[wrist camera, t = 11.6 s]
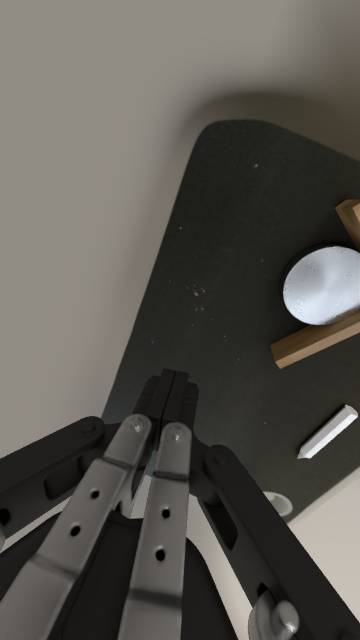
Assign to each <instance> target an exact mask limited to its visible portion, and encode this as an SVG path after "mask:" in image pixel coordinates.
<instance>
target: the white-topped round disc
mask: <svg viewBox="0 0 360 640" xmlns="http://www.w3.org/2000/svg"><path fill="white" fill-rule="evenodd" d="M279 290H280V295H281V298H282V300H283V302H284V304H285V305H286V307H287V309H288V310H289V311H290V313H291V314H292V315H293V316H294V317H296V318H297V319H299V320H301V321H303V322H305V323H308V324H313V325H328V324H333V323H337V322H340V321H342V320H344V319H346V318H348V317H350V316H351V315H353V314H354V313H356V312H357V311H358V310H359V309H360V253H358V252H357V251H355V250H352V249H349V248H347V247H344V246H341V245H337V244H319V245H315V246H311V247H309V248H307V249H305V250H303V251H301V252H300V253H298V254H297V255H296V256H294V257H293V258H292V259H291V260H290V261H289V263H288V264H287V265H286V267H285V268H284V270H283V272H282V275H281V278H280V283H279Z"/></svg>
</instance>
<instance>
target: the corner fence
mask: <svg viewBox="0 0 360 640" xmlns="http://www.w3.org/2000/svg"><path fill="white" fill-rule="evenodd" d="M335 209H336V211H337V213H338V215H339V217H340V219H341V220H342V222H343V224H344V226H345V228H346V230H347V231H348V233H349V235H350V237H351V239H352V241H353V242H354V244H355V246H356V248H357V250H358V252H359V253H360V199H353V200H345V201H344V202H343V203H341V204H340V205H338V206H337V207H335ZM359 332H360V309H359V310H358V311H357V312H356V313H354V314H353V315H351V316H350V317H348V318H346V319H344V320H342V321H340V322H337V323H333V324H328V325H313V324H311V325H309V326H307V327H305V328H303V329H301V330H299V331H297V332H295V333H293V334H291V335H289V336H287V337H285V338H284V339H282V340H280V341H278V342H276V343H274V344H272V345H270V347H271V350H272V353H273V357H274V360H275V363H276V364H277V365H278V367H279V368H280V369H281V368H283V367H285V366H287V365H290V364H292V363H294V362H296V361H298V360H300V359H303V358H305V357H307V356H309V355H311V354H313V353H316V352H318V351H320V350H322V349H324V348H326V347H329V346H331V345H333V344H335V343H337V342H339V341H342V340H344V339H346V338H348V337H350V336H352V335H355V334H357V333H359Z"/></svg>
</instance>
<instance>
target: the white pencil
mask: <svg viewBox="0 0 360 640" xmlns="http://www.w3.org/2000/svg"><path fill="white" fill-rule="evenodd" d="M357 417H358V413H357V412H356V411H355V410H354V409H353V408H352V407H350V406H348V405H345V406H344V407H343V408H342V409H341V410H340V411H339V412H338V413H337V414H336V415H334V416H333V417H332V418H331V419H330V420H329V421H328V422H327V423H326V424H325V425H324V426H323V427H322V428H321V429H319V430H318V431H317V432H316V433H315V434H314V435H313V436H312V437H311V438H310V439H309V440H308V441H307V442H306V443H305V444H303V445H302V446H301V449H300V453H299V455H298V457H297V459H300V458H311V457H312V456H313V455H314V454H316V453H317V452H318V451H319V450H320V449H321V448H322V447H324V446H325V445H326V444H327V443H328V442H329V441H331V440H332V439H333V438H334V437H335V436H336V435H337V434H339V433H340V432H341V431H342V430H343V429H344V428H345V427H347V426H348V425H349V424H350V423H351V422H352V421H353V420H355V419H356V418H357Z"/></svg>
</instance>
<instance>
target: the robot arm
mask: <svg viewBox="0 0 360 640" xmlns="http://www.w3.org/2000/svg"><path fill="white" fill-rule="evenodd" d="M188 378H189V373H185V372H180V371H177V372H176V371H174V370H169V369H164V370H163V372H162V375H161V377H159V376H152V377H151V378H150V379H149V380H148V381H147V383H146V385H145V387H144V389H143V391H142V394H141V396H140V398H139V400H138V402H137V404H136V407H135V409H134V411H133V413H132V415H130V416H128V417H127V418H125V420H124V421H123V422H121V423H117V424H105V425H104V422H103V420H102V419H100V418H98V417H95V416H89V417H85V418H83V419H80V420H78V421H76V422H74V423H72V424H70V425H68V426H66V427H64V428H62V429H60V430H58V431H56V432H54V433H52V434H50V435H48V436H46V437H44V438H42V439H40V440H38V441H35V442H33V443H31V444H29V445H27V446H25V447H23V448H21V449H19V450H17V451H15V452H13V453H11V454H9V455H7V456H5V457H3V458H1V459H0V551H1V549H2V547H3V545H4V542H5V540H6V539H7V538H9V537H10V536H12V535H13V534H15V533H16V532H18V531H19V530H21V529H22V528H24V527H25V526H27V525H28V524H30V523H31V522H33V521H34V520H36V519H37V518H39V517H40V516H42V515H43V514H45V513H46V512H48V511H49V510H51V509H52V508H53V507H55V506H57V505H58V504H59V503H61V502H62V501H64V500H66V499H67V498H69V497H70V496H72V497H71V498H70V500H69V501H68V503H67V505H66V506H65V508H64V509H63V511H61V512H59V513H57V514H55V515H53V516H52V517H50V518H49V519H47V520H46V521H45V522H43V523H42V524H40V525H39V526H38V527H36V528H35V529H33V530H32V531H31V532H29V533H28V534H27V535H25V536H24V537H22V538H21V539H20V540H18V541H17V542H15V543H14V544H13V545H11V546H10V547H9V548H7V549H6V550H4V551H3V552H2V553H0V640H238V638H237V635H236V633H235V631H234V628H233V626H232V623H231V621H230V619H229V617H228V614H227V611H226V609H225V607H224V604H223V602H222V600H221V597H220V595H219V592H218V590H217V588H216V585H215V583H214V580H213V578H212V576H211V573H210V571H209V569H208V566H207V564H206V562H205V560H204V558H203V556H202V555H201V553H200V552H199V550H198V549H197V548H196V546H195V545H194V544H193V543H192V542H191V541H190V540H189V539H188V538H187V537H186V529H187V515H188V499H189V492H190V493H192V494H193V495H195V496H196V497H197V500H198V502H199V504H200V506H201V508H202V511H203V513H204V514H205V516H206V518H207V520H208V522H209V524H210V526H211V528H212V530H213V532H214V534H215V536H216V538H217V540H218V542H219V544H220V545H221V547H222V549H223V551H224V553H225V555H226V557H227V559H228V561H229V563H230V565H231V567H232V569H233V571H234V573H235V575H236V577H237V578H238V580H239V582H240V584H241V586H242V588H243V590H244V592H245V594H246V596H247V598H248V600H249V602H250V604H251V606H252V608H253V609H252V611H251V612H250V615H249V620H248V634H249V640H360V623H359V621H358V620H357V619H356V618H355V616H354V615H353V613H352V612H351V611H350V610H349V608H348V606H347V605H346V604H345V602H344V601H343V600H342V598H341V597H340V596H339V594H338V593H337V592H336V590H335V589H334V588H333V586H332V585H331V584H330V582H329V581H328V580H327V578H326V577H325V576H324V574H323V573H322V571H321V570H320V569H319V567H318V566H317V565H316V563H315V562H314V561H313V559H312V558H311V557H310V555H309V554H308V553H307V551H306V550H305V549H304V547H303V546H302V545H301V543H300V542H299V540H298V539H297V538H296V536H295V535H294V534H293V533H292V531H291V530H290V528H289V527H288V526H287V524H286V523H285V522H284V520H283V519H282V518H281V516H280V515H279V514H278V512H277V511H276V510H275V508H274V507H273V505H272V504H271V503H270V501H269V500H268V499H267V497H266V496H265V495H264V493H263V492H262V491H261V489H260V488H259V487H258V485H257V484H256V483H255V481H254V480H253V479H252V477H251V476H250V475H249V473H248V472H247V470H246V469H245V468H244V466H243V465H242V464H241V462H240V461H239V460H238V458H237V457H236V456H235V454H234V453H233V452H232V451H231V450H230V449H229V448H227V447H225V446H223V445H213V446H211V447H209V446H207V445H205V444H203V443H202V442H200V441H199V440H198V439H197V437H196V436H195V434H194V431H193V425H194V419H195V412H196V406H197V400H198V393H199V390H198V387H197V384H195V383H190V382H188ZM158 449H159V450H158ZM153 450H155V451H158V455H157V460H156V465H155V470H154V473H153V475H152V479H151V484H150V489H149V493H148V498H147V503H146V508H145V513H144V518H140V519H130V517H131V512H132V508H133V505H134V502H135V499H136V496H137V494H138V492H139V489H140V486H141V484H142V481H143V479H144V476H145V474H146V471H147V469H148V466H149V461H150V458H151V455H152V452H153Z"/></svg>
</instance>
